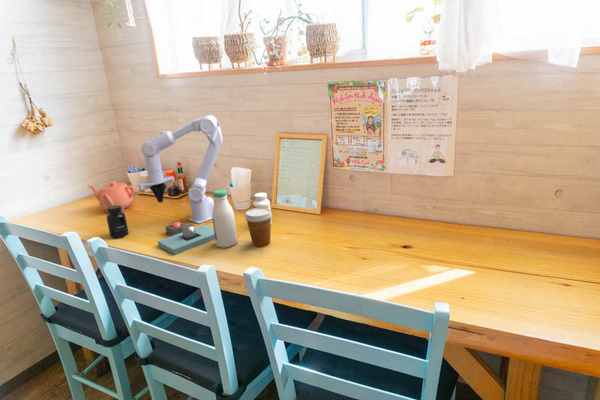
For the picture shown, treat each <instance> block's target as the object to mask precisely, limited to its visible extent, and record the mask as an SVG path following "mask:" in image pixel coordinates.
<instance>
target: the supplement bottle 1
mask: <svg viewBox="0 0 600 400" xmlns="http://www.w3.org/2000/svg"><path fill="white" fill-rule="evenodd" d="M107 209H108V213H107V215H106V223H107V226H108V232H109V236H110V237H111V239H122V238H125V237H127V236H128V235H129V227H128V222H127V218H126V214H125V212H121V211H122V209H121V206H119V205H115V206H110V207H108V208H107Z"/></svg>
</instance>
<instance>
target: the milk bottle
mask: <svg viewBox="0 0 600 400" xmlns="http://www.w3.org/2000/svg"><path fill="white" fill-rule="evenodd" d="M227 192H228V191H227V190H226V189H217V190H214V191H213V193H212V195H213V198H214V207H213V211H212V219H211V220H212V226H213V227H212V228H214V234H215V239H214V240H215V245H216V247H218V248H223V249H224V248H226V249H227V248H230V247H233V246H235V245H236V244H237V243H238V237H237V235H238V234H237V229H236V228H237V227H236V220H235V214H234V213H235V212H234V210H233V208H232V205H231V204H230V203H229V201H228V193H227Z"/></svg>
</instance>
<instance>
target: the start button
mask: <svg viewBox="0 0 600 400" xmlns="http://www.w3.org/2000/svg"><path fill="white" fill-rule="evenodd" d="M180 222H181V221H174V222H172V223H171V224H172V227H173V228H177V227H179V226H181V225H180Z"/></svg>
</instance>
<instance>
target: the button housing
mask: <svg viewBox="0 0 600 400" xmlns="http://www.w3.org/2000/svg"><path fill="white" fill-rule="evenodd" d="M179 222H180V225H181V226H179V227H177V228H173V227H172V223H171V224H168V225H165V230H166V234H168V235H169V236H170V237H171V236H173V235H176V234H179V233H182V226H184V225H187V224H186V223H183V222H181V221H179Z"/></svg>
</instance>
